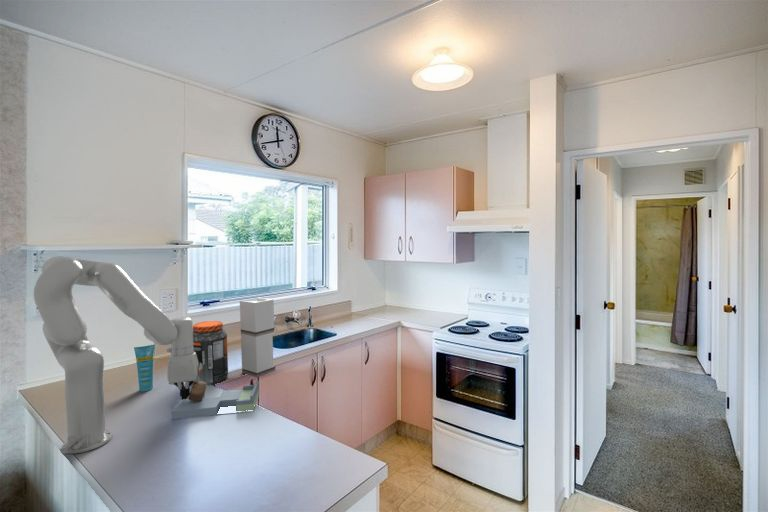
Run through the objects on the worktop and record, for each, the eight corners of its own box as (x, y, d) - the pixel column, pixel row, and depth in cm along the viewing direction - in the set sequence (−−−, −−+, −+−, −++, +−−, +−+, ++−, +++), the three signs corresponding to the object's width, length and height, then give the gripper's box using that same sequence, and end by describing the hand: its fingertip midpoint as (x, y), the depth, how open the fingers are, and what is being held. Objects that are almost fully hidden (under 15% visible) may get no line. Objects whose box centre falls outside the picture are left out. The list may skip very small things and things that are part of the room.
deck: (253, 411, 141) (252, 395, 140) (172, 419, 136) (171, 402, 135) (259, 395, 156) (258, 380, 155) (186, 401, 150) (185, 386, 150)
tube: (136, 393, 159) (133, 348, 158) (136, 389, 163) (133, 345, 162) (156, 389, 163) (154, 345, 162) (156, 385, 167) (154, 342, 166)
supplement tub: (187, 378, 175) (184, 323, 174) (222, 370, 185) (220, 318, 184) (196, 388, 163) (193, 329, 162) (233, 379, 173) (231, 323, 172)
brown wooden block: (200, 402, 142) (205, 386, 142) (186, 399, 141) (191, 384, 141) (203, 397, 147) (208, 382, 147) (190, 395, 146) (195, 379, 146)
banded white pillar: (275, 370, 184) (273, 299, 182) (257, 377, 175) (254, 302, 173) (260, 366, 190) (258, 297, 189) (242, 372, 182) (239, 300, 180)
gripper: (157, 355, 137) (159, 404, 138) (201, 352, 140) (203, 400, 141) (164, 349, 145) (167, 395, 146) (206, 346, 147) (208, 392, 149)
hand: (185, 397), depth 143 cm, fingers closed
